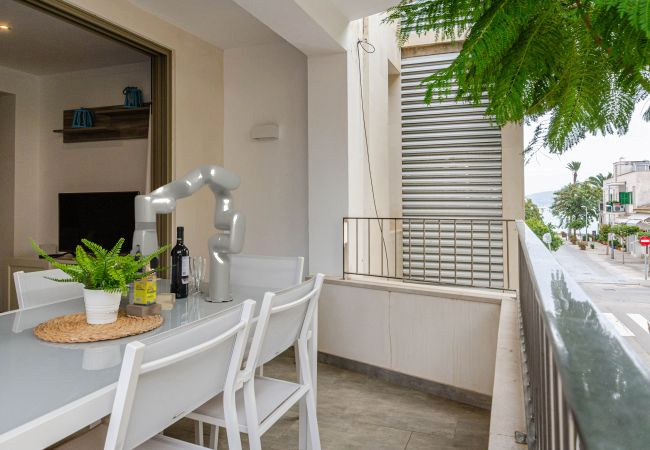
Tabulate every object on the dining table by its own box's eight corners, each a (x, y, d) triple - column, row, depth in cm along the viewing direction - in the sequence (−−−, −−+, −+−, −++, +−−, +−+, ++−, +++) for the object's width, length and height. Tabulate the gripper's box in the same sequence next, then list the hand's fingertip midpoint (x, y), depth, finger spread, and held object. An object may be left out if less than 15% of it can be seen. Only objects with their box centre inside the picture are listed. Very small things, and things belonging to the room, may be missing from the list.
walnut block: (145, 313, 177) (145, 301, 177) (161, 316, 173) (161, 304, 173) (126, 317, 169) (126, 305, 169) (141, 320, 165) (142, 307, 165)
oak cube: (160, 307, 190) (161, 293, 190) (174, 307, 190) (175, 293, 190) (156, 309, 184) (156, 295, 184) (170, 310, 184) (170, 295, 184)
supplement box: (146, 306, 168) (147, 277, 168) (133, 305, 169) (133, 276, 169) (156, 303, 174) (157, 275, 173) (143, 302, 175) (144, 275, 175)
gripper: (150, 225, 180) (151, 267, 181) (122, 227, 163) (123, 273, 164) (167, 226, 179) (167, 267, 179) (140, 228, 162) (140, 274, 162)
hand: (146, 270), depth 172 cm, fingers open, 9 cm apart
